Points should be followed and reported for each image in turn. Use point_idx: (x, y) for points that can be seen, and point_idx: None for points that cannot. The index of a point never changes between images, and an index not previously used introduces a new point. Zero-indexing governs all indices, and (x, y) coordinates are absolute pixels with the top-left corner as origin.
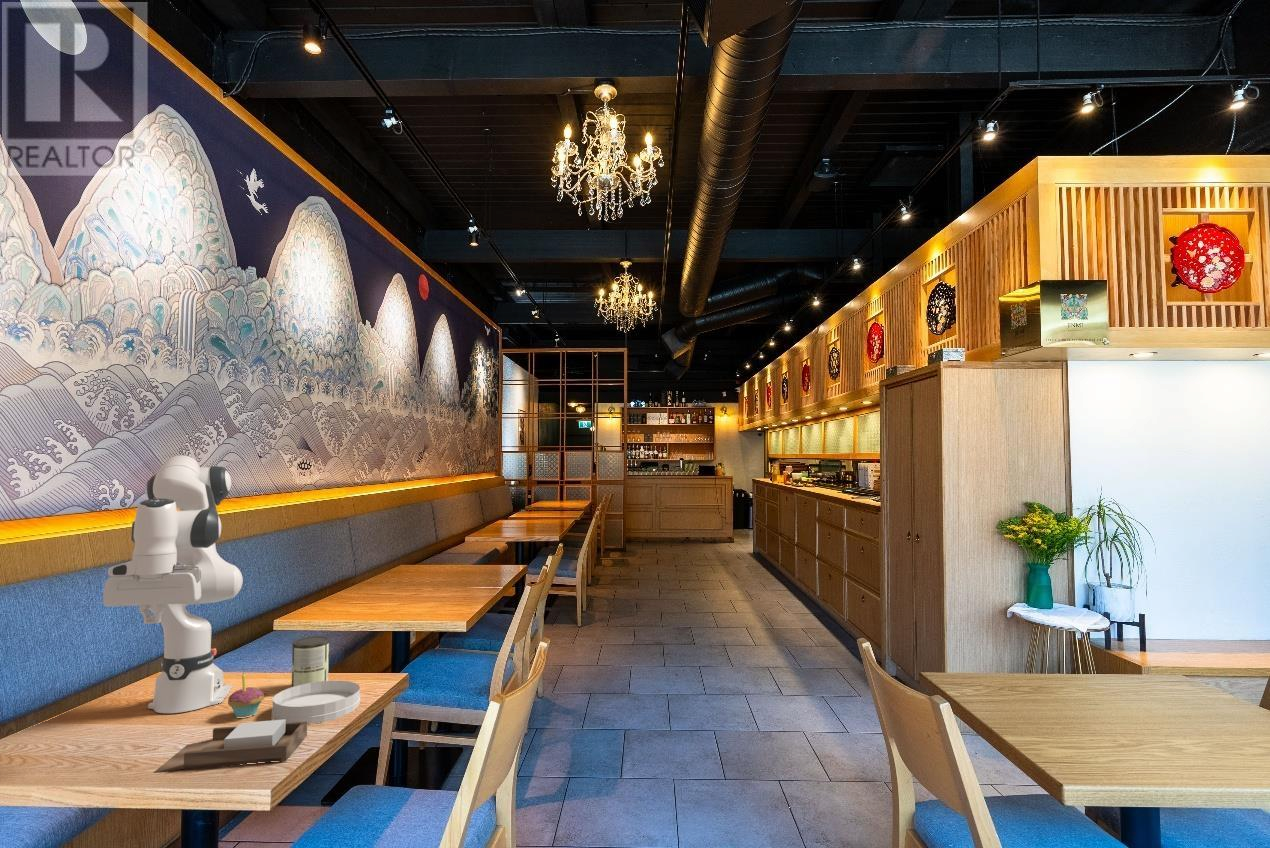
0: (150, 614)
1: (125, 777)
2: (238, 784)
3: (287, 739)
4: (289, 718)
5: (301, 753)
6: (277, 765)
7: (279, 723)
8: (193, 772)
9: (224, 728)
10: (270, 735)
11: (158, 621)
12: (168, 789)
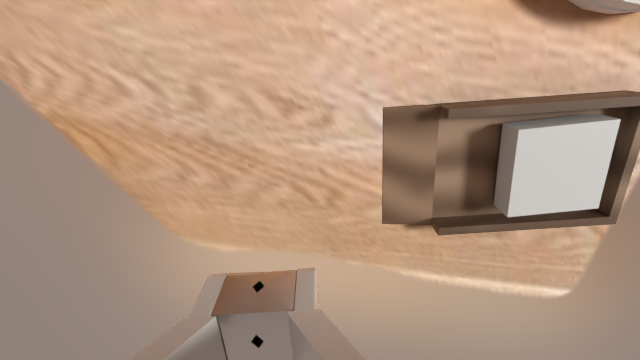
0: (208, 319)
1: (346, 234)
2: (530, 274)
3: None
4: (597, 7)
5: None
6: None
7: (607, 144)
8: None
9: (472, 116)
10: (594, 208)
11: (318, 301)
12: (434, 277)
